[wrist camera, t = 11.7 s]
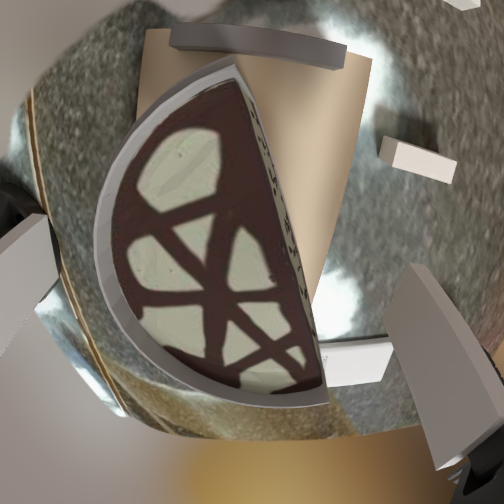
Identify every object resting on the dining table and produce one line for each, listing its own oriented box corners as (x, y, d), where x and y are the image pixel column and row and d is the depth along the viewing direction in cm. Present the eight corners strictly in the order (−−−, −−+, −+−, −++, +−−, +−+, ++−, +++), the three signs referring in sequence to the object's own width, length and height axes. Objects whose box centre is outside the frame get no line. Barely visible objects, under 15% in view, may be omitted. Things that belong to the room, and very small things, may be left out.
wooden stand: (166, 249, 28) (131, 321, 19) (181, 46, 19) (132, 22, 10) (294, 266, 29) (307, 345, 20) (336, 67, 20) (386, 56, 11)
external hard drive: (377, 373, 38) (290, 381, 38) (392, 332, 34) (293, 341, 34) (380, 382, 37) (291, 391, 37) (396, 341, 33) (294, 351, 33)
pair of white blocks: (378, 157, 23) (391, 166, 21) (407, -34, 14) (422, -43, 11) (433, 173, 24) (450, 184, 21) (462, -5, 14) (480, -11, 12)
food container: (137, 112, 15) (10, 155, 6) (245, 72, 14) (226, 40, 5) (213, 293, 20) (188, 427, 12) (304, 271, 19) (331, 409, 11)
